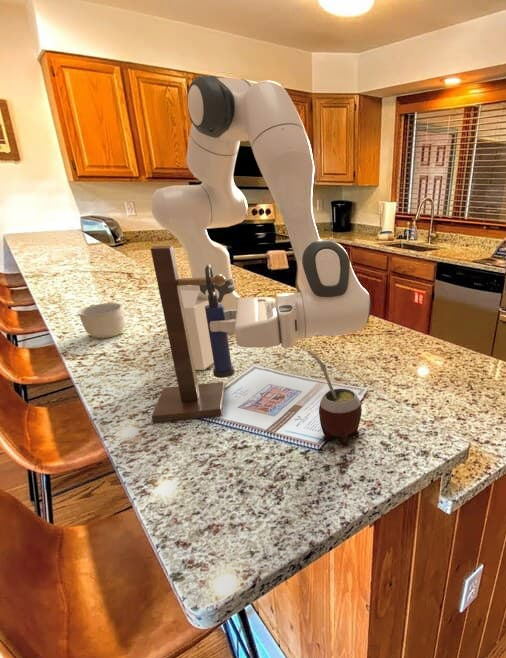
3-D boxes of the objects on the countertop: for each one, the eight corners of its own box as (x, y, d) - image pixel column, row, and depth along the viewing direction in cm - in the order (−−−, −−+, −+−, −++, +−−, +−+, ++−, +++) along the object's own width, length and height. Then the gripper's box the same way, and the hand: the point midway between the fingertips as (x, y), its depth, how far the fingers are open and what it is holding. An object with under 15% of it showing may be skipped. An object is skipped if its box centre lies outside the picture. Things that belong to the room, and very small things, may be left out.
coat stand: (165, 394, 88) (132, 243, 75) (242, 386, 91) (222, 240, 79) (153, 423, 77) (112, 254, 65) (240, 413, 80) (218, 249, 68)
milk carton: (204, 371, 98) (190, 289, 91) (176, 368, 100) (160, 288, 92) (219, 359, 105) (207, 282, 97) (193, 357, 106) (179, 281, 98)
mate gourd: (366, 444, 71) (367, 361, 64) (320, 452, 69) (316, 367, 62) (354, 422, 77) (353, 344, 71) (311, 428, 75) (306, 349, 69)
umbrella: (214, 368, 85) (197, 263, 77) (235, 366, 86) (220, 262, 77) (212, 381, 80) (193, 269, 71) (234, 379, 81) (218, 268, 72)
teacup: (130, 336, 121) (124, 308, 118) (87, 344, 115) (78, 315, 112) (123, 324, 131) (117, 298, 128) (83, 330, 126) (75, 304, 122)
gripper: (282, 287, 89) (213, 291, 86) (290, 315, 71) (203, 322, 68) (284, 316, 92) (217, 321, 89) (292, 351, 73) (209, 358, 71)
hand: (211, 322), depth 78 cm, fingers closed on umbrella, 3 cm apart
